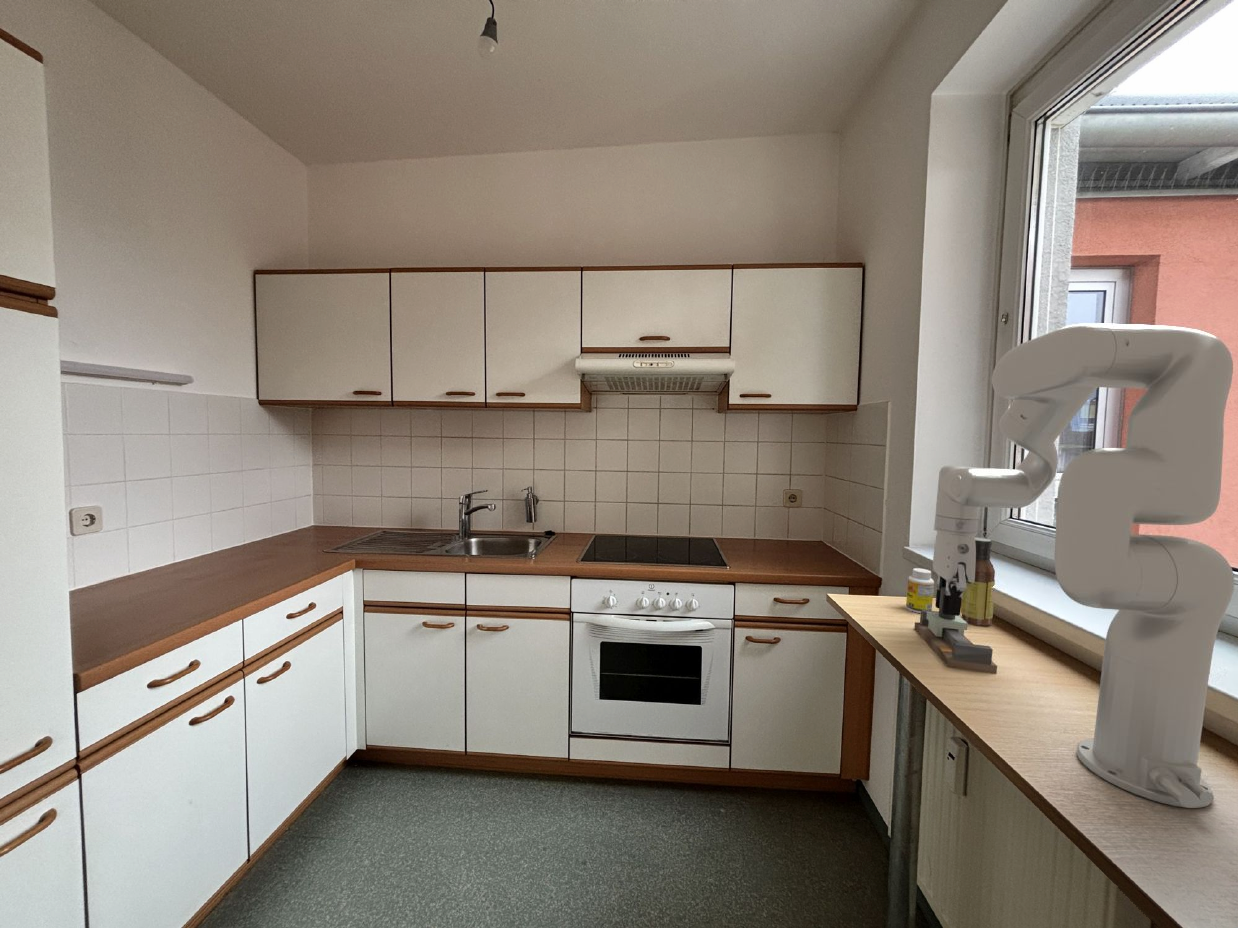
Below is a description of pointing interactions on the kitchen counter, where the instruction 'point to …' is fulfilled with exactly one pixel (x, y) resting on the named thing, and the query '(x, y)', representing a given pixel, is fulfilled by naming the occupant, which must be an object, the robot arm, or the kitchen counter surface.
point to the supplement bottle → (920, 591)
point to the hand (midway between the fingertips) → (947, 610)
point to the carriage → (945, 620)
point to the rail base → (956, 648)
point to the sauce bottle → (980, 588)
